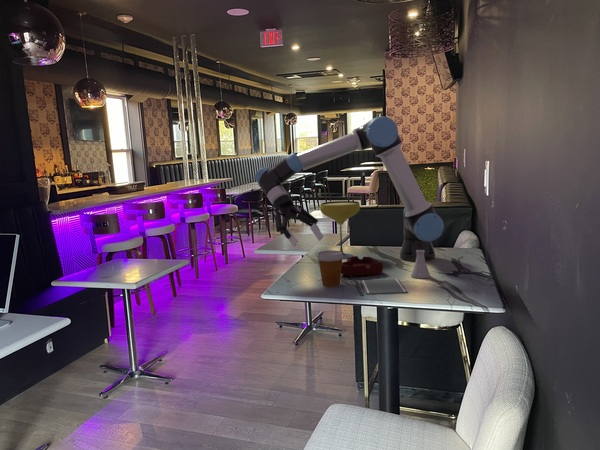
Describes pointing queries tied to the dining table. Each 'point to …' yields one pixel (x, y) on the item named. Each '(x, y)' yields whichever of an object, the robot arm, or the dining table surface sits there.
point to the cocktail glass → (340, 214)
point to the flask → (420, 266)
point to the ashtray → (361, 266)
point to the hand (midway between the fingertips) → (308, 241)
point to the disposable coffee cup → (330, 267)
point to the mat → (383, 286)
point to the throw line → (359, 288)
